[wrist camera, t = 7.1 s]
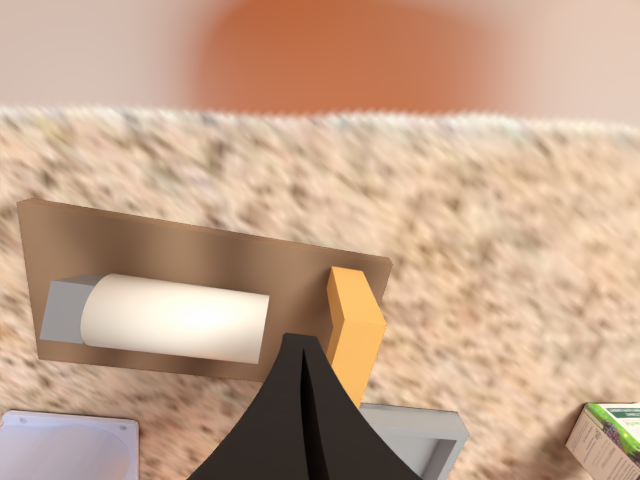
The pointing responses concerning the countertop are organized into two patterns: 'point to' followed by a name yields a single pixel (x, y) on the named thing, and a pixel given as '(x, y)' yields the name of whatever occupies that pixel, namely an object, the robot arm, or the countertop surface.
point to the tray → (419, 436)
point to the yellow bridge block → (353, 330)
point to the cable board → (184, 278)
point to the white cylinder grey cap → (156, 317)
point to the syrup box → (608, 441)
